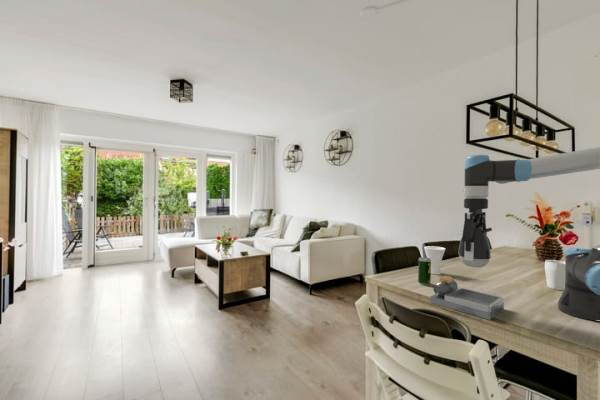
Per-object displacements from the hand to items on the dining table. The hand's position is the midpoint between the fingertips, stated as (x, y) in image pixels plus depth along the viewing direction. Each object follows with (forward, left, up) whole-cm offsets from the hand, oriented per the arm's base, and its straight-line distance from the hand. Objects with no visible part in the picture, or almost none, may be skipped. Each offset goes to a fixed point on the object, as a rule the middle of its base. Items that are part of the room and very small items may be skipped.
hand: (474, 258), depth 106 cm
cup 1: (+31, -37, -19) cm, 52 cm away
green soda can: (+25, -14, -19) cm, 34 cm away
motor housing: (+2, 0, -18) cm, 19 cm away
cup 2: (-16, -56, -19) cm, 61 cm away
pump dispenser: (0, 0, -3) cm, 3 cm away
